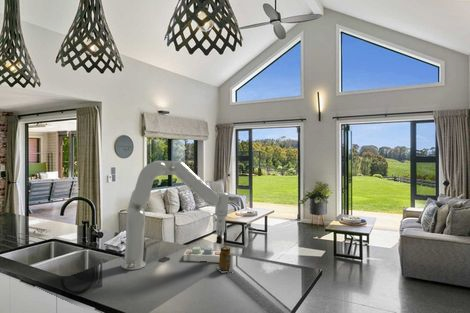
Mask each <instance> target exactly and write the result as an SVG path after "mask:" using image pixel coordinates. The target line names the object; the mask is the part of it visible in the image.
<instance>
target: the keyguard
mask: <svg viewBox="0 0 470 313" xmlns="http://www.w3.org/2000/svg"><path fill="white" fill-rule="evenodd" d="M216 252H221V250H212V254H211V255H209V254H204V249H201V250H200V254H192V249H189V248H188V249H186V250H185V251H184V253H183V261H184V262H200V261H207V262H206V263H219V260H220V255H216Z"/></svg>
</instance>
